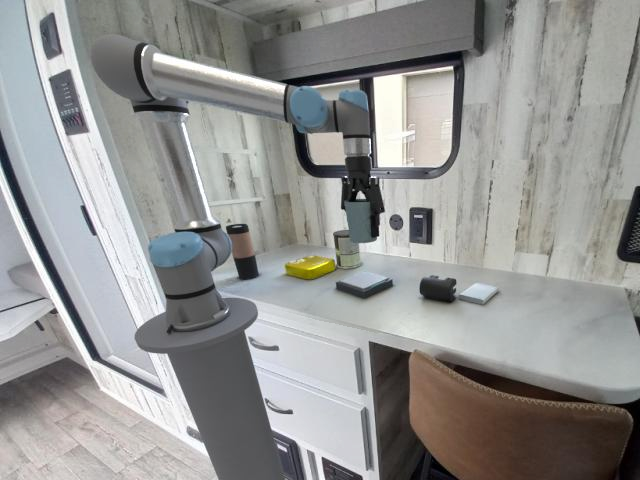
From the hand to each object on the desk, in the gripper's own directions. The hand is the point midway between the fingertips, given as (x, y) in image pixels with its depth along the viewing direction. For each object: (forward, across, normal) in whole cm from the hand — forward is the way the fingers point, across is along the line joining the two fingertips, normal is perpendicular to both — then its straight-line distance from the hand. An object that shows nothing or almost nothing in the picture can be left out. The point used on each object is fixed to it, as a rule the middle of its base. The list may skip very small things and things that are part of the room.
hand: (363, 234), depth 96 cm
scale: (+19, +4, -2) cm, 20 cm away
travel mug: (+20, +50, +17) cm, 56 cm away
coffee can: (+19, +28, -16) cm, 37 cm away
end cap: (+19, -22, -9) cm, 31 cm away
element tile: (+19, +34, -1) cm, 39 cm away
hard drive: (+19, -31, -19) cm, 41 cm away
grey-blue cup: (+2, 0, 0) cm, 2 cm away
